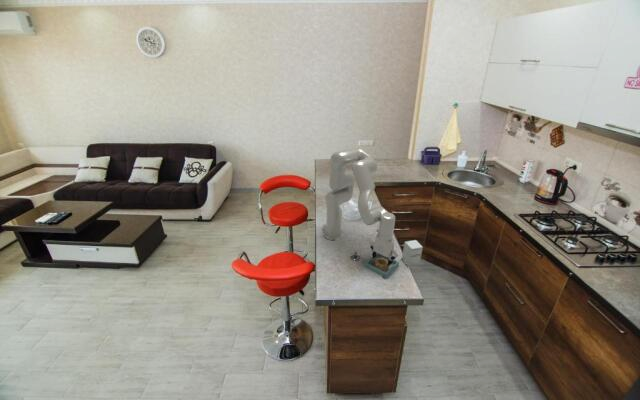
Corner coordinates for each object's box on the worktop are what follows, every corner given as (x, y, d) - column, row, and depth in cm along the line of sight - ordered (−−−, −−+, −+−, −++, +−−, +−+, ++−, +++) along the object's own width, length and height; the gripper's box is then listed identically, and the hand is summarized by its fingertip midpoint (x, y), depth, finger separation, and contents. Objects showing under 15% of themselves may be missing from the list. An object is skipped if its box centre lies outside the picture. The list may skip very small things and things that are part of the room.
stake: (347, 259, 175) (348, 252, 173) (353, 254, 179) (354, 247, 177) (356, 263, 172) (357, 256, 170) (362, 259, 176) (363, 252, 174)
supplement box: (407, 267, 170) (411, 248, 164) (401, 259, 176) (404, 241, 170) (419, 265, 172) (423, 246, 166) (412, 257, 178) (416, 239, 172)
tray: (364, 267, 169) (364, 263, 168) (377, 256, 178) (377, 251, 177) (385, 279, 161) (386, 274, 160) (398, 266, 170) (399, 262, 169)
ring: (372, 266, 169) (373, 262, 168) (379, 260, 174) (379, 256, 172) (383, 272, 165) (384, 267, 164) (390, 265, 170) (390, 261, 168)
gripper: (367, 231, 162) (364, 257, 170) (396, 244, 152) (392, 271, 160) (375, 226, 167) (372, 251, 175) (403, 238, 157) (399, 264, 165)
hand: (381, 260), depth 168 cm, fingers open, 9 cm apart
